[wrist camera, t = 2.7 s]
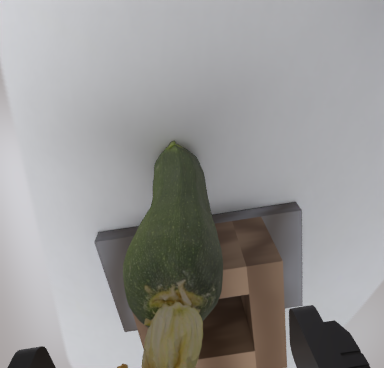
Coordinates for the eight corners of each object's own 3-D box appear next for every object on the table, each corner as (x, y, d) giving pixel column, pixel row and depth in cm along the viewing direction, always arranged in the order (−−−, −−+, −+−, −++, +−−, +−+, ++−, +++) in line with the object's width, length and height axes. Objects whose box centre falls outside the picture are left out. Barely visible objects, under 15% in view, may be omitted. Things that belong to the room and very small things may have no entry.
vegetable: (211, 165, 26) (293, 442, 8) (173, 196, 27) (167, 503, 9) (176, 125, 25) (180, 357, 7) (137, 159, 26) (44, 441, 8)
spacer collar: (295, 202, 28) (334, 253, 21) (297, 294, 33) (329, 361, 26) (98, 232, 28) (73, 292, 22) (126, 320, 33) (114, 392, 26)
